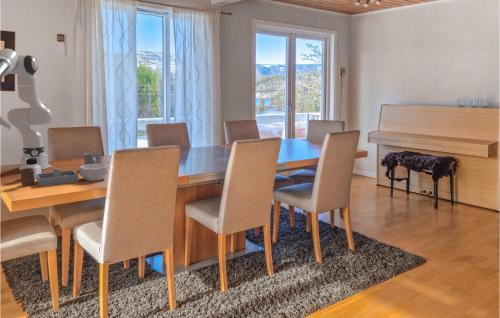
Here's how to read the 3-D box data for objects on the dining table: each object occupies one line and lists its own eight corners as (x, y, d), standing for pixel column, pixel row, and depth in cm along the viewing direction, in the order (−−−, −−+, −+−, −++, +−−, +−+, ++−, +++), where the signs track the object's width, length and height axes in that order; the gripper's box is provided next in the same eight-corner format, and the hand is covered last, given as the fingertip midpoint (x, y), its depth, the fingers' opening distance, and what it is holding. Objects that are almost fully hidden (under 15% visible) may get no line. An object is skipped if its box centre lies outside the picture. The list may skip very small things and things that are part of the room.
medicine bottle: (41, 177, 248) (40, 157, 246) (36, 180, 241) (34, 159, 239) (29, 177, 248) (27, 157, 245) (23, 180, 241) (21, 159, 238)
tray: (36, 181, 236) (35, 166, 235) (74, 177, 246) (73, 163, 245) (39, 187, 224) (38, 171, 222) (78, 182, 234) (77, 167, 232)
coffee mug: (85, 168, 274) (84, 152, 272) (101, 167, 277) (100, 152, 275) (83, 172, 261) (82, 156, 259) (100, 171, 264) (99, 155, 262)
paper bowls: (106, 181, 236) (105, 168, 234) (77, 183, 233) (76, 168, 232) (110, 176, 251) (109, 162, 249) (83, 177, 248) (82, 163, 247)
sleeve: (21, 185, 229) (20, 169, 227) (34, 183, 232) (32, 167, 230) (22, 187, 224) (20, 170, 222) (35, 185, 227) (33, 169, 225)
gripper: (-19, 112, 224) (4, 130, 231) (-20, 115, 207) (5, 133, 214) (-10, 104, 226) (13, 121, 232) (-10, 105, 208) (15, 124, 215)
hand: (9, 127), depth 223 cm, fingers open, 8 cm apart
